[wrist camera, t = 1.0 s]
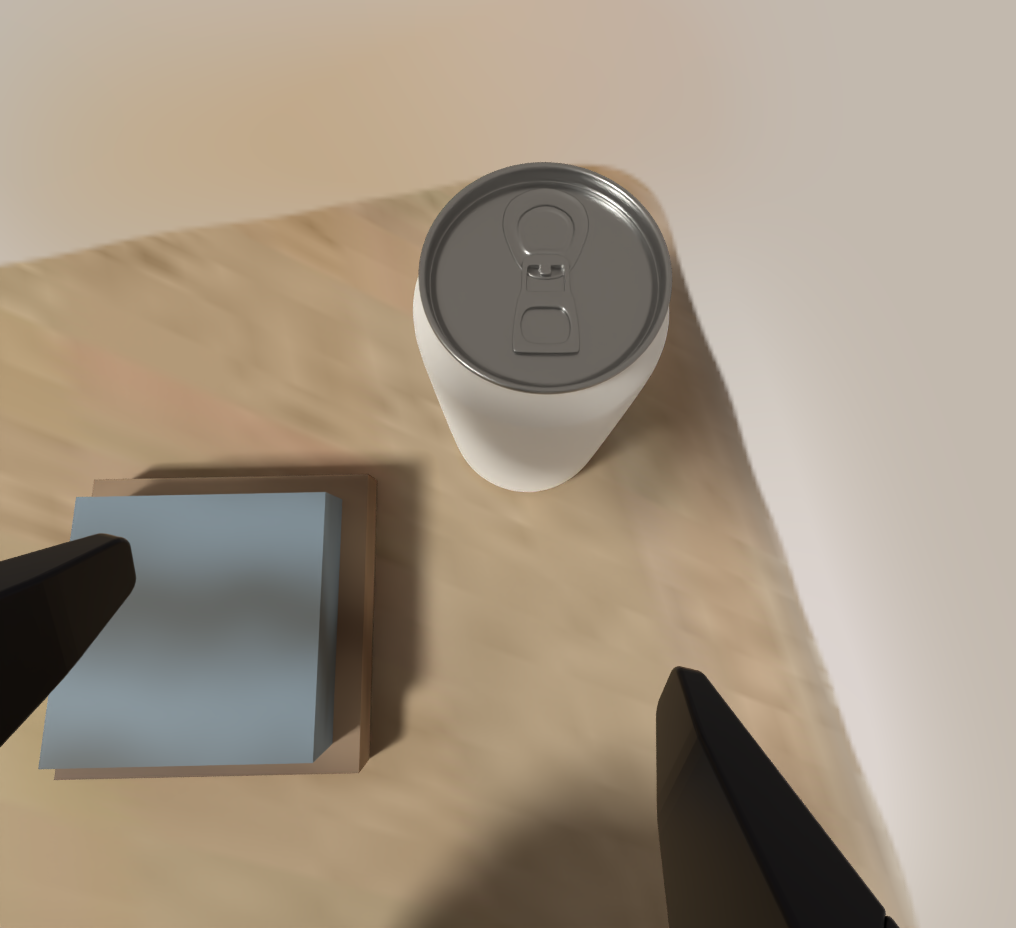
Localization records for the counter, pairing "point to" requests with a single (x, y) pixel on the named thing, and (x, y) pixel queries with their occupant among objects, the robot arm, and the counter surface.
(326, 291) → the counter surface
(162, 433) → the counter surface
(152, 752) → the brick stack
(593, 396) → the can
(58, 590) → the robot arm
